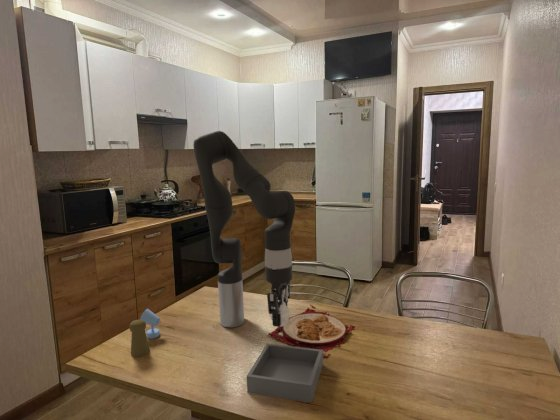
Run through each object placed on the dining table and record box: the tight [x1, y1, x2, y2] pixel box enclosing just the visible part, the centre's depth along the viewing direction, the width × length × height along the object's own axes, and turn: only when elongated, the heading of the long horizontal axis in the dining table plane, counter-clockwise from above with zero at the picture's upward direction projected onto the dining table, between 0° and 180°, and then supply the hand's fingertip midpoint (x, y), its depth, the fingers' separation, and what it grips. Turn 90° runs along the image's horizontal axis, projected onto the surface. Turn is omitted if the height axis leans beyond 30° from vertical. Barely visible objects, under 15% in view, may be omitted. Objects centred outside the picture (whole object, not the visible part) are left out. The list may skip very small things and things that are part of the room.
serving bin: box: [246, 342, 324, 403], centre depth 110 cm, size 18×18×5 cm
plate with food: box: [267, 304, 356, 357], centre depth 138 cm, size 25×26×4 cm
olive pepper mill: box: [129, 318, 151, 358], centre depth 127 cm, size 6×6×11 cm
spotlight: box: [139, 308, 161, 339], centre depth 139 cm, size 5×10×7 cm
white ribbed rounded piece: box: [268, 300, 291, 327], centre depth 108 cm, size 6×6×7 cm
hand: (280, 320), depth 108 cm, fingers closed on white ribbed rounded piece, 6 cm apart
